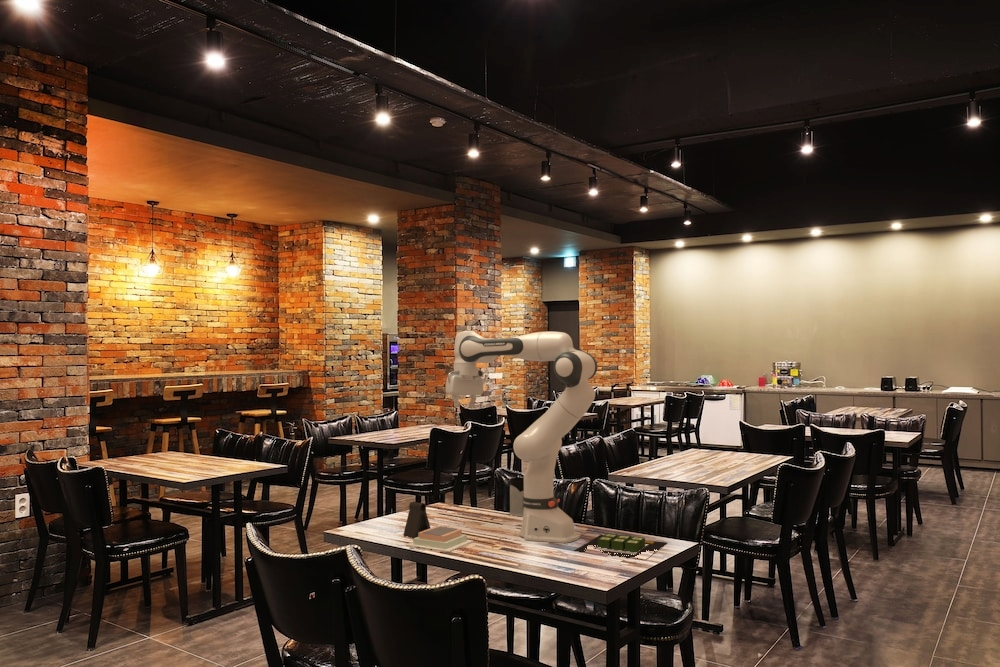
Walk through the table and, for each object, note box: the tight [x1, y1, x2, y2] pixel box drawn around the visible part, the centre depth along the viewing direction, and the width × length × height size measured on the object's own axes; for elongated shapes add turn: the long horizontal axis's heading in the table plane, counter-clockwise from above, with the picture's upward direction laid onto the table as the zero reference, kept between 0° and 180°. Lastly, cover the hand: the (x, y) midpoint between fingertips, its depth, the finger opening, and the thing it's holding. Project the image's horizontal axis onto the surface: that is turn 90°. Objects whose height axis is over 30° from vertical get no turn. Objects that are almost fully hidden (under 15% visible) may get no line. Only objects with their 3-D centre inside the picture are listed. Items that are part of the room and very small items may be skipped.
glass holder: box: [508, 476, 524, 516], centre depth 311 cm, size 9×14×15 cm, turn 123°
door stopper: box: [402, 501, 431, 539], centre depth 276 cm, size 9×6×12 cm, turn 140°
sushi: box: [573, 533, 668, 559], centre depth 256 cm, size 25×25×4 cm
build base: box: [405, 526, 475, 553], centre depth 262 cm, size 18×16×5 cm
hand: (464, 407), depth 290 cm, fingers open, 8 cm apart
